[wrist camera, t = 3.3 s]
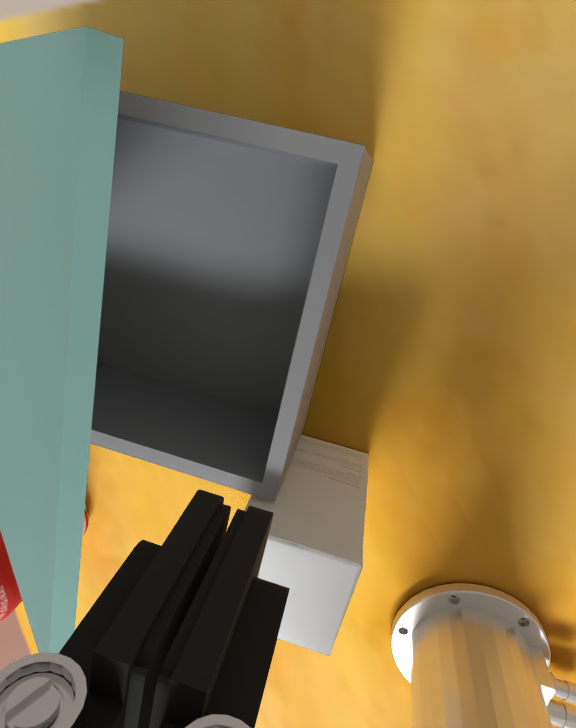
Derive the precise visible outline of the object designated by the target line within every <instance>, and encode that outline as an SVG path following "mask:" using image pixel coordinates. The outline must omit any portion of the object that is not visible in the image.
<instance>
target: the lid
mask: <svg viewBox="0 0 576 728" xmlns="http://www.w3.org/2000/svg"><path fill="white" fill-rule="evenodd" d="M123 45H124V39H121V38H118V37H116V36H113V35H110V34H107V33H105V32H102V31H99V30H96V29H93V28H91V27H88V26H84V27H79V28H74V29H69V30H64V31H59V32H54V33H49V34H44V35H39V36H34V37H29V38H24V39H19V40H14V41H9V42H4V43H0V531H1V534H2V537H3V540H4V543H5V547H6V550H7V553H8V556H9V559H10V562H11V566H12V569H13V572H14V575H15V578H16V581H17V585H18V588H19V591H20V594H21V597H22V601H23V604H24V607H25V610H26V613H27V616H28V620H29V623H30V626H31V629H32V632H33V635H34V639H35V642H36V645H37V648H38V651H39V653H59V652H60V650H61V649H62V648H63V646H64V645H65V643H66V642H67V641H68V639H69V638H70V637H71V635H72V634H73V632H74V629H75V617H76V606H77V594H78V582H79V570H80V558H81V546H82V534H83V522H84V510H85V498H86V486H87V474H88V462H89V451H90V439H91V427H92V415H93V403H94V391H95V379H96V367H97V355H98V343H99V331H100V319H101V307H102V296H103V284H104V272H105V260H106V248H107V236H108V224H109V212H110V200H111V188H112V176H113V164H114V153H115V141H116V129H117V117H118V105H119V93H120V81H121V69H122V57H123Z"/></svg>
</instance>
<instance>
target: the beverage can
mask: <svg viewBox="0 0 576 728" xmlns="http://www.w3.org/2000/svg"><path fill="white" fill-rule="evenodd" d="M87 527H88V513H87V507H86V504H85V510H84V522H83V534H82V536H83V535H84V533H85V532H86V530H87ZM21 602H22V597H21V594H20V591H19V588H18V585H17V581H16V578H15V575H14V572H13V569H12V566H11V562H10V559H9V556H8V553H7V550H6V547H5V543H4V540H3V537H2V534H1V531H0V620H2V619H4V618H6V617H7V616H8V615H9V614H10V613H11V612H12V611H13V610H14V609H15V608H16V607H17V606H18V605H19V604H20V603H21Z"/></svg>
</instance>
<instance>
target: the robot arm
mask: <svg viewBox="0 0 576 728" xmlns="http://www.w3.org/2000/svg"><path fill="white" fill-rule="evenodd" d="M223 502H224V498H223V497H222V496H219V495H216V494H212V493H209V492H206V491H203V490H198V491H197V492H196V494H195V495H194V497H193V498H192V500H191V501H190V503H189V505H188V506H187V508H186V509H185V511H184V512H183V514H182V515H181V517H180V518H179V520H178V522H177V523H176V525H175V526H174V528H173V529H172V531H171V532H170V534H169V535H168V537H167V539H166V540H165V542H164V543H163V545H162V546H160V545H157V544H154V543H151V542H148V541H145V540H142V541H140V542H139V543H138V544H137V545H136V546H135V548H134V549H133V550H132V552H131V553H130V555H129V556H128V557H127V559H126V560H125V562H124V563H123V564H122V566H121V567H120V568H119V570H118V571H117V573H116V574H115V575H114V577H113V578H112V580H111V581H110V582H109V584H108V585H107V587H106V588H105V589H104V591H103V592H102V593H101V595H100V596H99V598H98V599H97V600H96V602H95V603H94V605H93V606H92V607H91V609H90V610H89V612H88V613H87V614H86V616H85V617H84V618H83V620H82V621H81V623H80V624H79V625H78V627H77V628H76V630H75V631H74V632H73V634H72V635H71V637H70V638H69V639H68V641H67V642H66V643H65V645H64V646H63V648H62V649H61V650H60V652H59V653H37V654H33V655H29V656H25V657H23V658H21V659H19V660H17V661H15V662H13V663H10V664H9V665H8V666H6V667H5V668H4V669H2V670H1V671H0V728H254V727H255V723H256V719H257V715H258V712H259V708H260V704H261V700H262V696H263V692H264V688H265V684H266V680H267V676H268V672H269V669H270V665H271V661H272V657H273V653H274V649H275V645H276V641H277V637H278V633H279V629H280V625H281V622H282V618H283V614H284V610H285V606H286V602H287V598H288V594H289V590H290V588H287V587H284V586H281V585H278V584H275V583H272V582H269V581H266V580H263V579H260V578H258V575H259V571H260V567H261V563H262V559H263V555H264V551H265V547H266V543H267V539H268V535H269V531H270V527H271V523H272V519H273V514H274V513H273V512H270V511H267V510H263V509H260V508H257V507H254V506H251V505H249V507H248V509H247V511H243V510H240V509H237V511H236V513H235V515H234V517H233V519H232V521H231V523H230V525H229V527H228V529H227V525H228V520H229V515H230V510H231V507H230V506H227V505H224V504H223ZM226 529H227V532H226ZM391 649H392V654H393V658H394V660H395V662H396V665H397V667H398V668H399V670H400V671H401V673H402V674H403V676H404V677H405V678H406V679H407V680H408V681H409V682H410V683H411V702H412V728H553V727H552V725H554V726H557V727H558V728H576V706H574V705H571V704H568V703H565V702H562V701H559V702H558V701H555V700H552V699H551V698H552V697H553V696H556V697H559V698H562V699H563V700H565V701H568V702H571V703H574V704H576V684H574V683H571V682H568V681H565V680H564V681H562V680H559V679H556V678H555V677H554V675H553V674H552V673H551V672H549V666H550V657H551V652H550V647H549V642H548V639H547V637H546V634H545V631H544V629H543V627H542V625H541V623H540V622H539V620H538V619H537V617H536V616H535V615H534V614H533V613H532V612H531V611H530V609H529V608H528V607H527V606H525V605H524V604H523V603H521V602H520V601H518V600H517V599H516V598H514V597H512V596H510V595H508V594H506V593H504V592H502V591H500V590H496V589H493V588H490V587H487V586H482V585H476V584H466V583H453V584H446V585H439V586H436V587H433V588H429V589H426V590H424V591H422V592H420V593H418V594H417V595H415V596H413V597H412V598H411V599H410V600H408V601H407V602H406V603H405V604H404V605H403V606H402V607H401V609H400V610H399V611H398V612H397V614H396V617H395V619H394V621H393V624H392V629H391Z"/></svg>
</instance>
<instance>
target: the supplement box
mask: <svg viewBox="0 0 576 728" xmlns="http://www.w3.org/2000/svg"><path fill="white" fill-rule="evenodd" d="M368 462H369V455H368V454H367V453H364V452H360V451H357V450H354V449H350V448H347V447H343V446H340V445H336V444H333V443H329V442H326V441H322V440H319V439H315V438H312V437H308V436H305V435H301V437H300V439H299V442H298V444H297V447H296V449H295V452H294V455H293V457H292V460H291V462H290V465H289V467H288V470H287V472H286V475H285V477H284V480H283V483H282V485H281V488H280V490H279V493H278V495H277V498H276V500H275V502H274V501H270V500H267V499H264V498H261V497H258V496H255V495H251V498H250V500H249V502H248V504H247V506H246V508H245V510H244V511H247V509H248V507H249V505H251V506H254V507H257V508H260V509H263V510H267V511H270V512H273V513H274V514H273V519H272V523H271V527H270V531H269V535H268V539H267V543H266V547H265V551H264V555H263V559H262V563H261V567H260V571H259V575H258V578H260V579H263V580H266V581H269V582H272V583H275V584H278V585H281V586H284V587H287V588H290V590H289V594H288V598H287V602H286V606H285V610H284V614H283V618H282V622H281V625H280V629H279V633H278V637H277V638H278V639H281V640H284V641H287V642H289V643H292V644H295V645H298V646H301V647H304V648H307V649H310V650H313V651H316V652H319V653H321V654H324V655H327V656H330V653H331V650H332V647H333V644H334V642H335V639H336V636H337V634H338V631H339V628H340V625H341V623H342V620H343V618H344V615H345V612H346V610H347V607H348V605H349V602H350V599H351V597H352V594H353V591H354V589H355V586H356V583H357V581H358V578H359V575H360V573H361V570H362V567H363V537H364V521H365V510H366V497H367V482H368Z"/></svg>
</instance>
